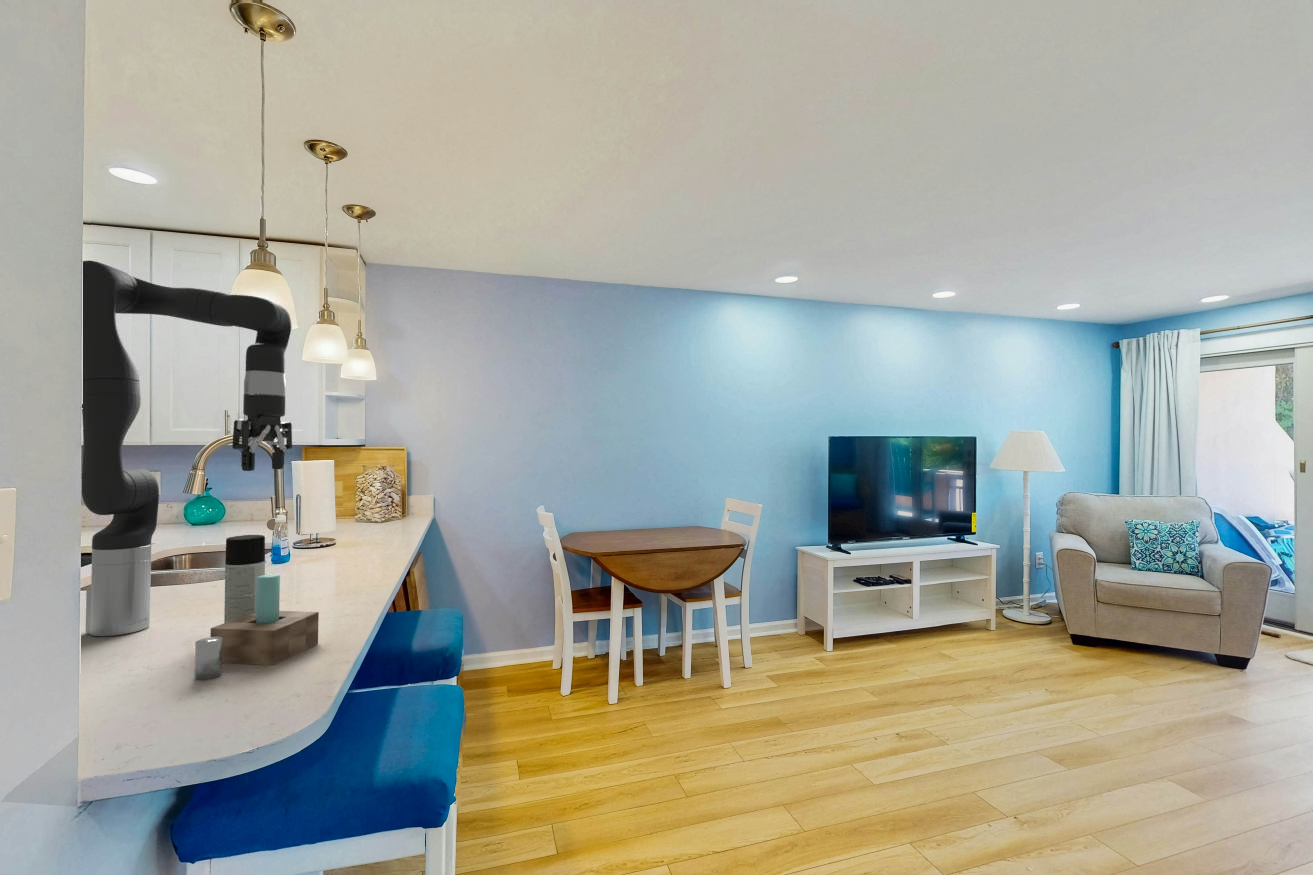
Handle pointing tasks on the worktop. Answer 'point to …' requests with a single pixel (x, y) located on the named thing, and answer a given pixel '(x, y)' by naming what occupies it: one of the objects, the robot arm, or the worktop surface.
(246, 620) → the socket block
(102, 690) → the worktop surface
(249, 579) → the spray can
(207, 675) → the short pin
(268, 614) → the long pin
